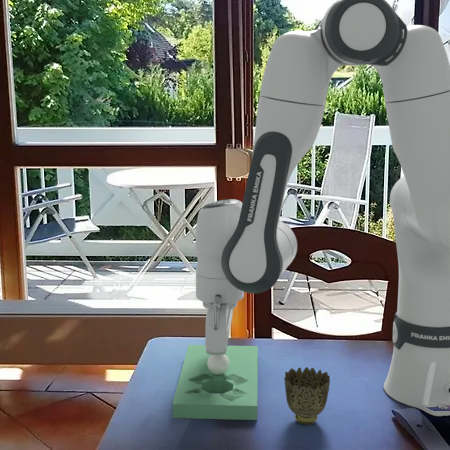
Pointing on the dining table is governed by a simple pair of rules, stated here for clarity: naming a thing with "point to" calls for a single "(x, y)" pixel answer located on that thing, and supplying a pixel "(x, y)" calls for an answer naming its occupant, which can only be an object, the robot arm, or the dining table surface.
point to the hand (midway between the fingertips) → (219, 358)
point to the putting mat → (218, 386)
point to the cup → (306, 393)
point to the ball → (218, 364)
